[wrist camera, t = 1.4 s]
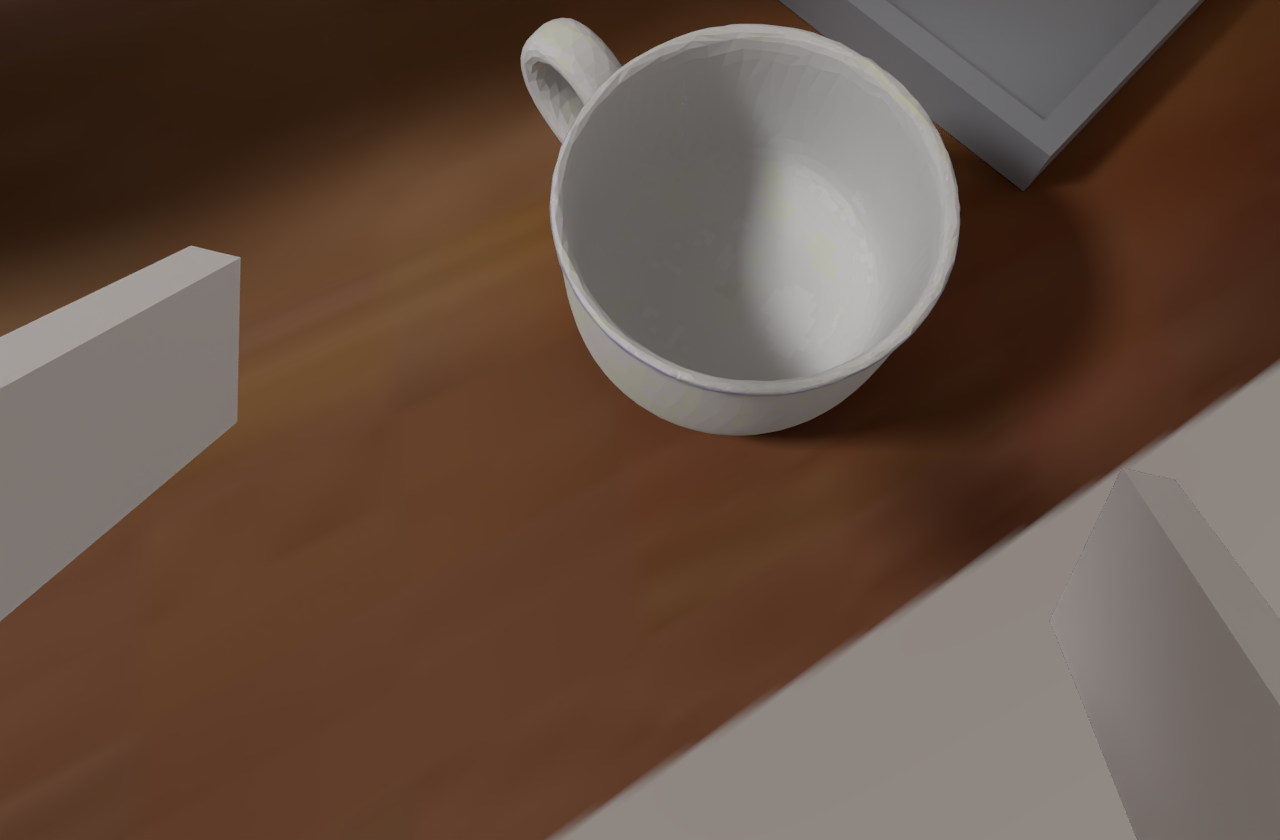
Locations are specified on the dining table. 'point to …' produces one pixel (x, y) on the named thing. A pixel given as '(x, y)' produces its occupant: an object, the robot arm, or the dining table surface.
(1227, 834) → the robot arm
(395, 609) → the dining table surface
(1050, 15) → the tray
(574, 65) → the teacup
